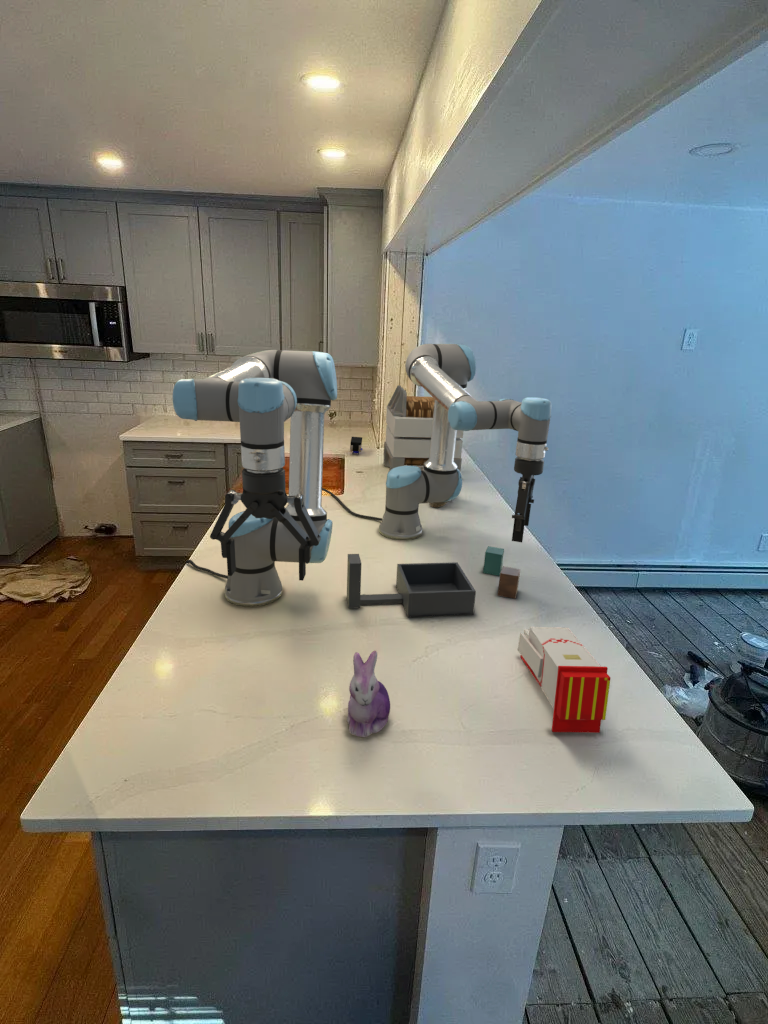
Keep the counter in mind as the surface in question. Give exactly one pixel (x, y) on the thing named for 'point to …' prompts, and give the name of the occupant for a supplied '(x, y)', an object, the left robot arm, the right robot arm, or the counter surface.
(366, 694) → the figurine
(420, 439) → the grey slatted crate
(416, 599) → the box
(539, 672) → the toy
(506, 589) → the walnut block
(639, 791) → the counter surface
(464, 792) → the counter surface
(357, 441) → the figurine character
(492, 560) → the teal block
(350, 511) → the right robot arm
